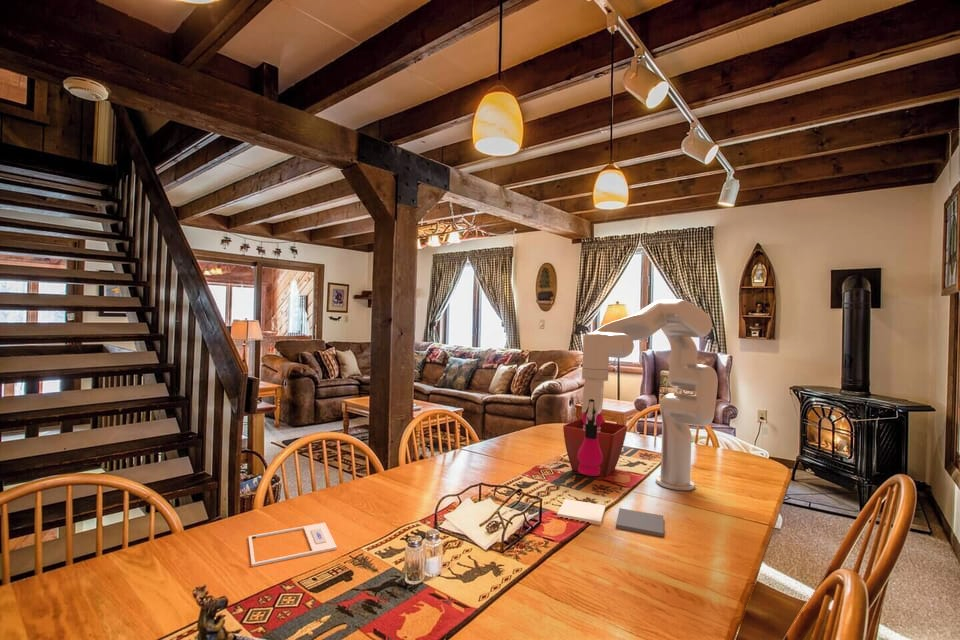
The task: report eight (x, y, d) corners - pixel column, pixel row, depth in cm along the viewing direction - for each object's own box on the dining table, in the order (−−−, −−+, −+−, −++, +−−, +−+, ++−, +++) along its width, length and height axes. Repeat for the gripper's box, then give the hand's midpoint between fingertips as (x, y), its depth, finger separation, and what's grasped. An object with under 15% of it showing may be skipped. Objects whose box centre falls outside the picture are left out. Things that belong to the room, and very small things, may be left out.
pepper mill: (602, 477, 132) (606, 406, 133) (576, 474, 133) (581, 404, 134) (600, 471, 139) (605, 403, 140) (576, 468, 140) (580, 401, 141)
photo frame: (337, 546, 109) (251, 563, 101) (336, 550, 109) (251, 568, 101) (324, 521, 122) (248, 535, 113) (324, 526, 122) (248, 539, 113)
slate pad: (619, 511, 137) (619, 508, 137) (663, 519, 133) (663, 515, 133) (615, 527, 126) (615, 524, 126) (663, 536, 121) (663, 533, 121)
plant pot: (626, 468, 178) (628, 424, 178) (611, 482, 162) (613, 434, 162) (578, 459, 188) (580, 417, 188) (560, 471, 172) (561, 425, 172)
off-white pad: (565, 501, 143) (565, 498, 143) (605, 509, 138) (605, 505, 138) (557, 517, 132) (557, 513, 132) (600, 525, 127) (600, 521, 127)
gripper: (586, 371, 146) (583, 428, 146) (577, 376, 130) (574, 440, 130) (611, 373, 144) (608, 431, 144) (604, 378, 128) (602, 444, 127)
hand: (592, 435), depth 137 cm, fingers closed on pepper mill, 5 cm apart
